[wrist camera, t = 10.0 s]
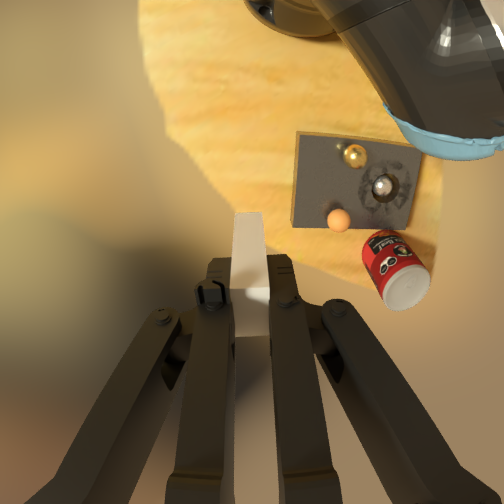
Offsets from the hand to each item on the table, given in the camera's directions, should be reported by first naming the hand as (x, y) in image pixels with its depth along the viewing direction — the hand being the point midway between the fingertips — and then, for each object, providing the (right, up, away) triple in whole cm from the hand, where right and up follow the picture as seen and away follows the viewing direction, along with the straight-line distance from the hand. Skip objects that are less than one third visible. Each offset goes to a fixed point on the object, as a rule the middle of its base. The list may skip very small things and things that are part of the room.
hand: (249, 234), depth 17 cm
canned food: (+22, 0, +30) cm, 37 cm away
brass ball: (+13, +11, +17) cm, 24 cm away
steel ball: (+18, +8, +22) cm, 30 cm away
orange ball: (+12, +3, +22) cm, 25 cm away
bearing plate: (+15, +9, +23) cm, 29 cm away
